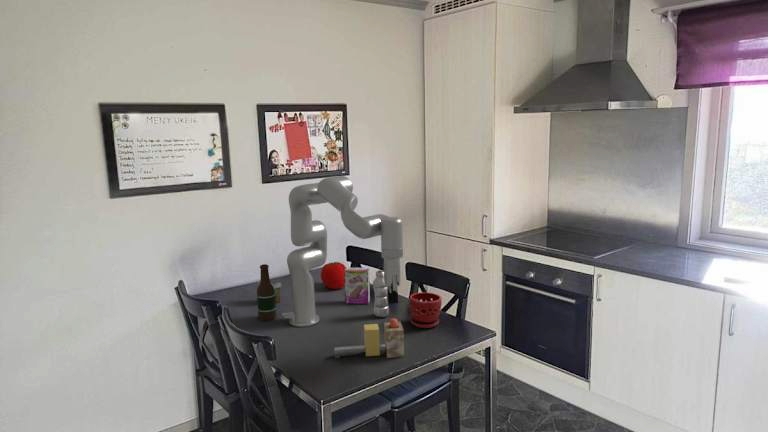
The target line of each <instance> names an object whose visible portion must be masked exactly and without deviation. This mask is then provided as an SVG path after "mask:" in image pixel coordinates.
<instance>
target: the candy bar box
mask: <svg viewBox="0 0 768 432" xmlns="http://www.w3.org/2000/svg"><path fill="white" fill-rule="evenodd" d="M344 275H345V286H344V304H345V305H347V304H349V305H369V304H370V300H371V295H370V294H371V292H370V289H371V288H370V268H369V267H346V269H345V270H344Z"/></svg>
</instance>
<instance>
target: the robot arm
mask: <svg viewBox="0 0 768 432" xmlns="http://www.w3.org/2000/svg"><path fill="white" fill-rule="evenodd" d="M353 190H354V186H353V183H352V181H351V180H350V179H349V177H347V176H345V175H335V176H330V177H325V178H323V179H321V180H320V181H319V182H314V183H312V182H311V183H305V184H300V185H297V186H295V187H293V188H292V189H291V190H290V192H289V193H288V194H289V195H288V204H289V210H290V240H291V243H292V245H294V246H295V247H300V248H296V249H294V250H292V251H290V252H289V254H288V255H287V257H286V258H287V259H286V263H287V267H288V271H289V277H290V290H291V311H289V312H282V313H281V318H284V320H288V319H289V324H290V325H291V326H293V327H310V326H313V325H315V324H317V323H318V322H319V321H320V316H319V315H318V314H316V304H315V303H316V298H315V282H314V281H315V280H314V278H313V275H312V274H311V273H310V270H313V269H316V268H319V267H322V266H324V265H325V263H326V261H327V257H328V230H327V227H326V225H325V224H324V222H322V221H321V220H317V219H315V220H314V219H312V217H313V214H312V210H311V208H310V207H309V206H314V205H320V204H326V203H328V204H329V205H331V206H332V208H335V209H336V210H337V211H339V213H340V217H341V221H342V224H343V226H344V227H345V228H346V230H348V231H349V232H350V233H351V234H353V235H354V236H355V237H357V238H359V239H362V240H367V239H370V238H374V237H380V243H381V246H380V251H381V253H380V254H381V258H382V259H383V271H384V282H385V284H386V286H387V287H388V291H387V300H388V304H390V305H391V304H398V303H399V291H398V288H399V287H400V286H401V259H402V258H403V257H404V248H403V246H404V243H403V241H404V239H403V237H404V236H403V220H402V219H401V218H400V217H397V216H396V217H395V216H389V215H385V214H381V213H379V214H374V215H367V216H363V217H362V216H361V215H360V214H358V213H357V212H355V209H356V208H357V206H358V202H359V199H358V197H357V195H356V194H355V193H354V192H353ZM304 246H305V247H304Z"/></svg>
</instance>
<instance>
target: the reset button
mask: <svg viewBox="0 0 768 432" xmlns="http://www.w3.org/2000/svg"><path fill="white" fill-rule="evenodd" d="M389 322H390V328H398V323H397V322H398V318H395V317H393V318H392V317H391V318H389Z"/></svg>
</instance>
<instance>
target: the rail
mask: <svg viewBox="0 0 768 432" xmlns="http://www.w3.org/2000/svg"><path fill="white" fill-rule="evenodd" d="M385 350H386V344H385V343H380V355H379V356H384V355H386V351H385ZM359 352H366V348H365V344H364V345H351V346H337V347H334V359H341V354H345V353H348V354H349V353H359Z"/></svg>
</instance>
